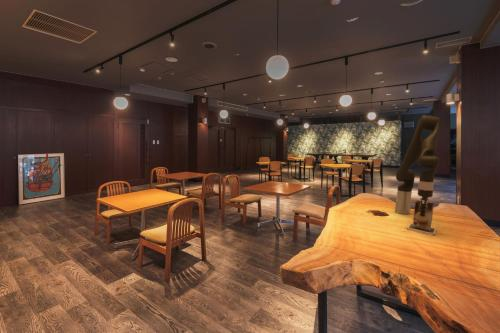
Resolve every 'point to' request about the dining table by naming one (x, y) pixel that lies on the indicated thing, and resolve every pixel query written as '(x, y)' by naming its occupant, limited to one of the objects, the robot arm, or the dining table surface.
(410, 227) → the mat
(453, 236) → the dining table surface
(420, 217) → the coffee box
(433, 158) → the robot arm
